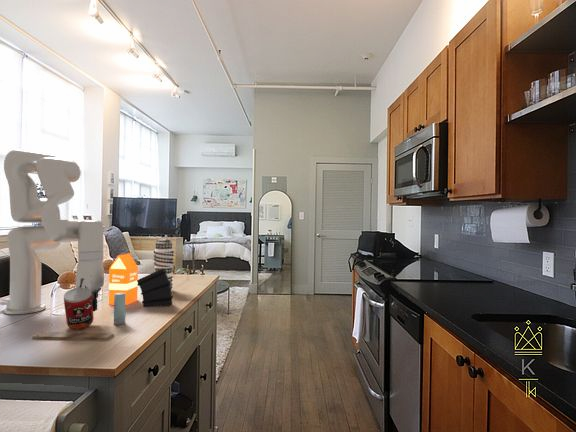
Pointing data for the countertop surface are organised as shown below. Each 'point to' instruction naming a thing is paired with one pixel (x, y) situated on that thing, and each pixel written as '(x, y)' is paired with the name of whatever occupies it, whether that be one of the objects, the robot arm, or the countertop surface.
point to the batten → (73, 336)
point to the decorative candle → (164, 257)
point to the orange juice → (123, 278)
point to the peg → (119, 308)
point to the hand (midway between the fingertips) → (91, 310)
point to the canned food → (78, 308)
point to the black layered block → (156, 289)
